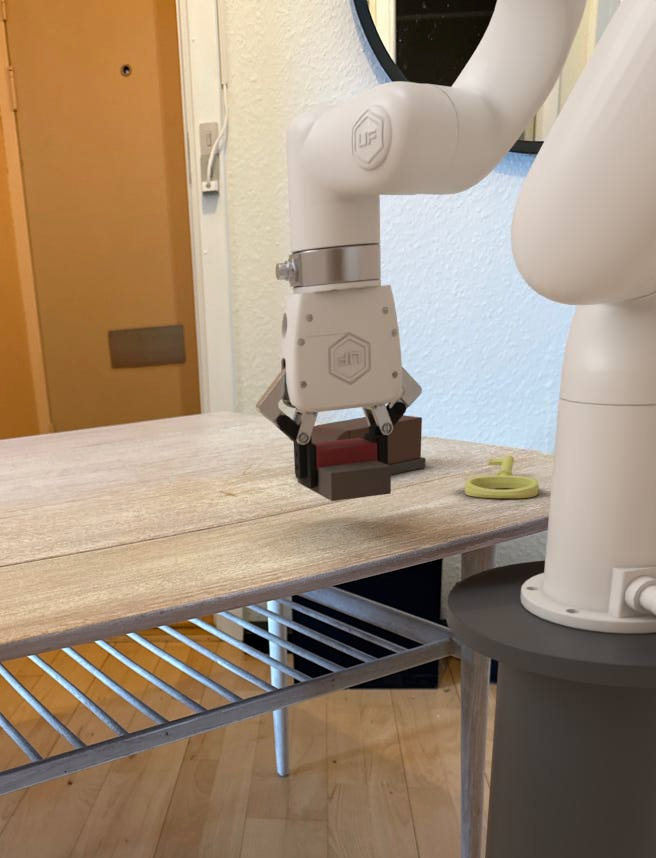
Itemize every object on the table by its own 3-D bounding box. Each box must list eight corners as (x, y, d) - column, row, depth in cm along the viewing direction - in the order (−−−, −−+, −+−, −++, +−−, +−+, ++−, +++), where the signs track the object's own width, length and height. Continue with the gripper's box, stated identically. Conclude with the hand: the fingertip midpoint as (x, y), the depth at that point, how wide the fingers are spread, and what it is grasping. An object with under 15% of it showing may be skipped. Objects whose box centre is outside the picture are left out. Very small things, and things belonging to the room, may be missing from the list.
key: (511, 473, 104) (512, 454, 103) (543, 498, 93) (545, 477, 92) (447, 476, 105) (447, 457, 104) (471, 502, 94) (472, 481, 93)
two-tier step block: (392, 493, 81) (391, 448, 79) (330, 501, 80) (329, 455, 79) (352, 475, 90) (351, 434, 89) (296, 482, 89) (294, 441, 88)
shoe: (335, 486, 104) (334, 433, 102) (299, 478, 109) (298, 427, 107) (425, 467, 110) (427, 417, 108) (387, 460, 116) (388, 412, 113)
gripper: (250, 279, 74) (262, 500, 80) (449, 261, 76) (447, 477, 83) (228, 283, 81) (241, 486, 87) (412, 266, 83) (412, 465, 89)
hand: (341, 479), depth 85 cm, fingers closed on two-tier step block, 5 cm apart
